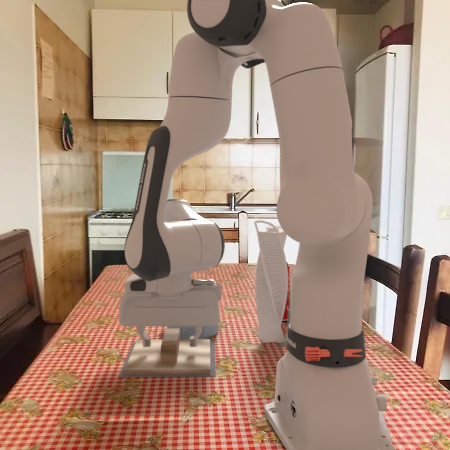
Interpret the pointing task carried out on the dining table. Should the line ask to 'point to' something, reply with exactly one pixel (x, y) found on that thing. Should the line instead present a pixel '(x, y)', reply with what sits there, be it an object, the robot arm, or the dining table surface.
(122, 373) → the rubber mat
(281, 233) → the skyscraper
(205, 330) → the bowl
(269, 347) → the dining table surface
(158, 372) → the cover board
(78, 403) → the dining table surface
